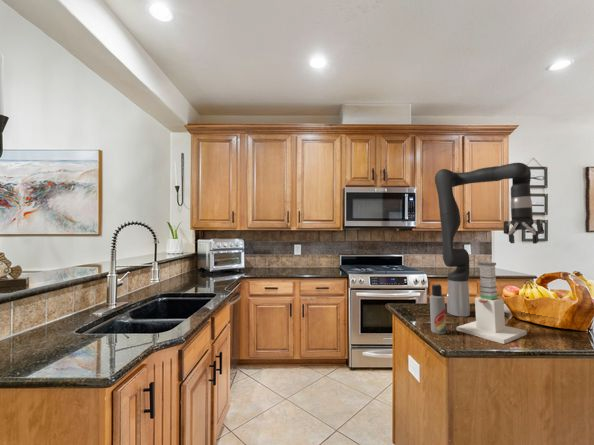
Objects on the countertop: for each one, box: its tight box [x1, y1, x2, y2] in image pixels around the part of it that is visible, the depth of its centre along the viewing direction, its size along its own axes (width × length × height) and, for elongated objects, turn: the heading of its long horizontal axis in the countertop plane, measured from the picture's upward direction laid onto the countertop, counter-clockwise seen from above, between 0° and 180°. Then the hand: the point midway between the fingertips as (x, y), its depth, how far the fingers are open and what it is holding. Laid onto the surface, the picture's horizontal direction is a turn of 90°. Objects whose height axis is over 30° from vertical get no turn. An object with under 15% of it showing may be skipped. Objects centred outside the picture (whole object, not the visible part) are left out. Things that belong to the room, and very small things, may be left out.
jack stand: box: [456, 296, 528, 345], centre depth 119 cm, size 18×18×14 cm
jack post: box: [477, 261, 498, 300], centre depth 119 cm, size 5×5×20 cm
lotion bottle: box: [429, 283, 447, 335], centre depth 121 cm, size 6×6×20 cm
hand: (523, 243), depth 128 cm, fingers open, 8 cm apart
